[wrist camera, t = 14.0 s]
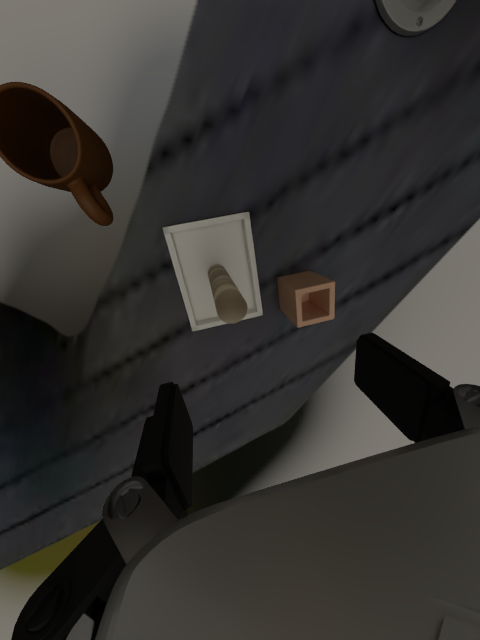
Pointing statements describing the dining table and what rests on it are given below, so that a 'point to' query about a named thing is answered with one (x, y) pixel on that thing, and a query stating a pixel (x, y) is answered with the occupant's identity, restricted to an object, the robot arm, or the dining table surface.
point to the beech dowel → (226, 295)
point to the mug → (54, 147)
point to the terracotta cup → (306, 298)
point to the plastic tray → (210, 249)
